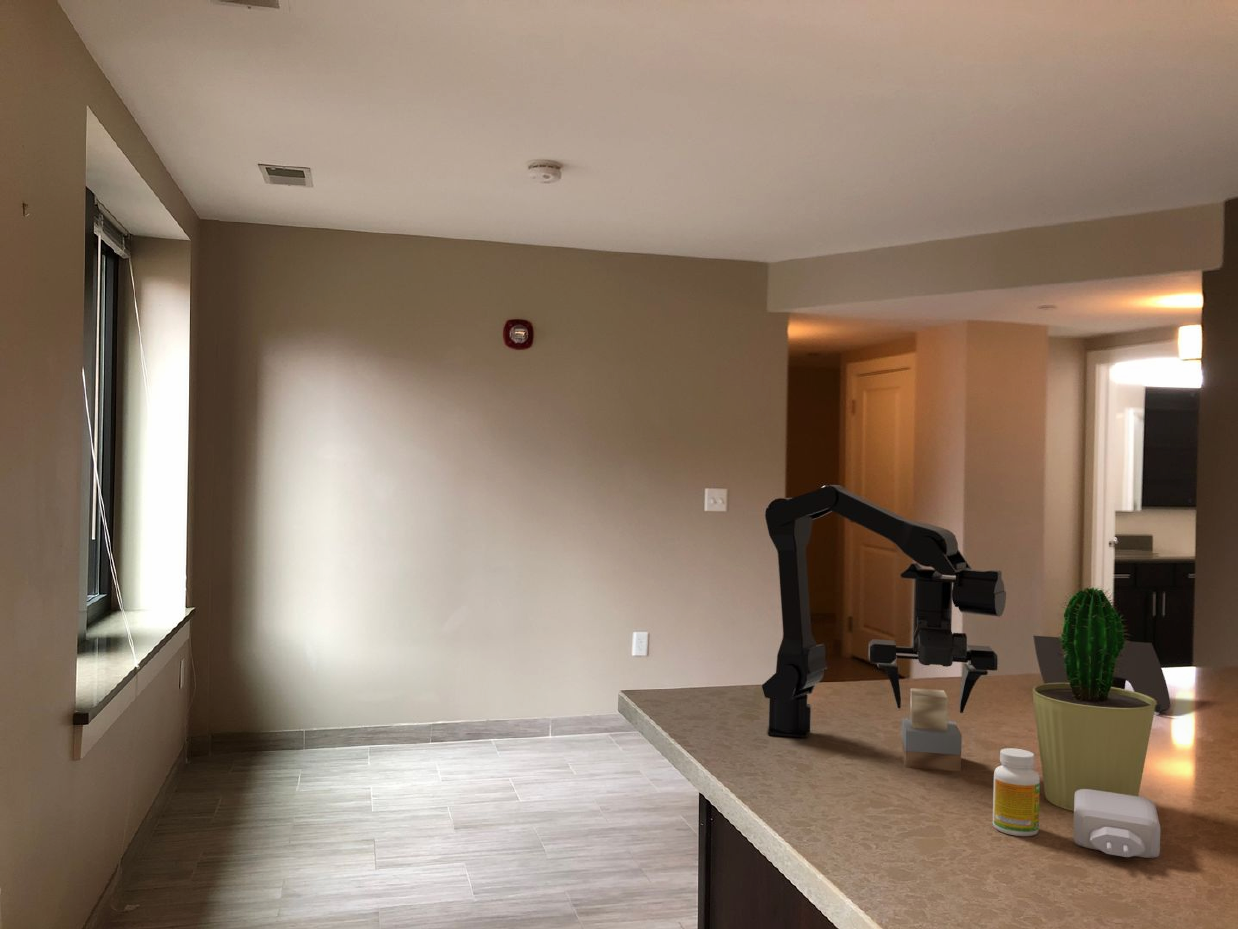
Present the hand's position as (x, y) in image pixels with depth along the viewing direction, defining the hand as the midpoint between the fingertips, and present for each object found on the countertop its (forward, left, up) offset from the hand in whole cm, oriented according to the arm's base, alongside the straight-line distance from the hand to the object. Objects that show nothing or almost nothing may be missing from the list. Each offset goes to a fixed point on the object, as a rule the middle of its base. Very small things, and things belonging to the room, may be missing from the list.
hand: (929, 710), depth 156 cm
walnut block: (0, 0, -8) cm, 8 cm away
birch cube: (0, 0, -2) cm, 2 cm away
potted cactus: (+20, -14, -8) cm, 26 cm away
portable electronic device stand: (+38, +53, -8) cm, 66 cm away
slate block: (0, -1, -5) cm, 5 cm away
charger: (+19, -31, -8) cm, 37 cm away
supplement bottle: (+8, -28, -8) cm, 30 cm away
